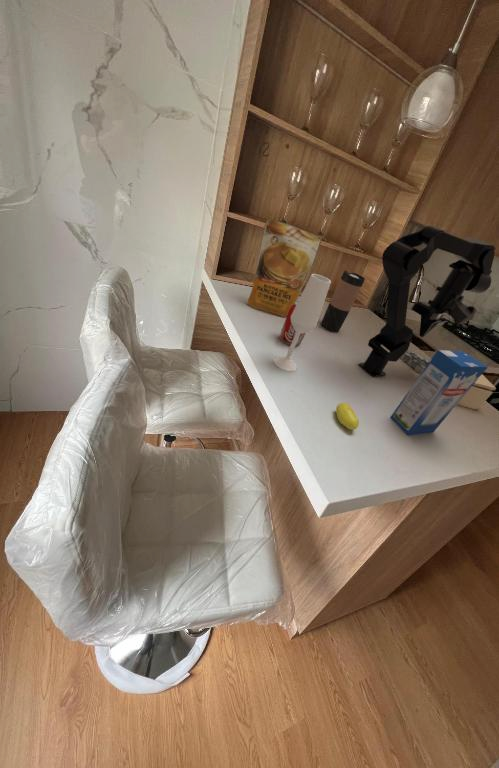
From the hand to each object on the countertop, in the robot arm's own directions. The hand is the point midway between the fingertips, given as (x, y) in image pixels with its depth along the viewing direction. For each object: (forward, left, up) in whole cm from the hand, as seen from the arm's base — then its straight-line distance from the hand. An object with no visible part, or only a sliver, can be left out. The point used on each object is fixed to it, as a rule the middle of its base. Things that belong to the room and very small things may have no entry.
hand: (421, 336), depth 100 cm
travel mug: (-6, +28, -13) cm, 32 cm away
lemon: (-42, -14, -13) cm, 46 cm away
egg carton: (+13, +2, -14) cm, 19 cm away
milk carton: (-22, -20, -13) cm, 32 cm away
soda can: (-32, +20, -13) cm, 40 cm away
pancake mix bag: (-26, +41, -13) cm, 50 cm away
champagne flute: (-42, +9, -13) cm, 45 cm away
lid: (+11, -14, -5) cm, 19 cm away
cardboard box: (+11, -14, -13) cm, 22 cm away
